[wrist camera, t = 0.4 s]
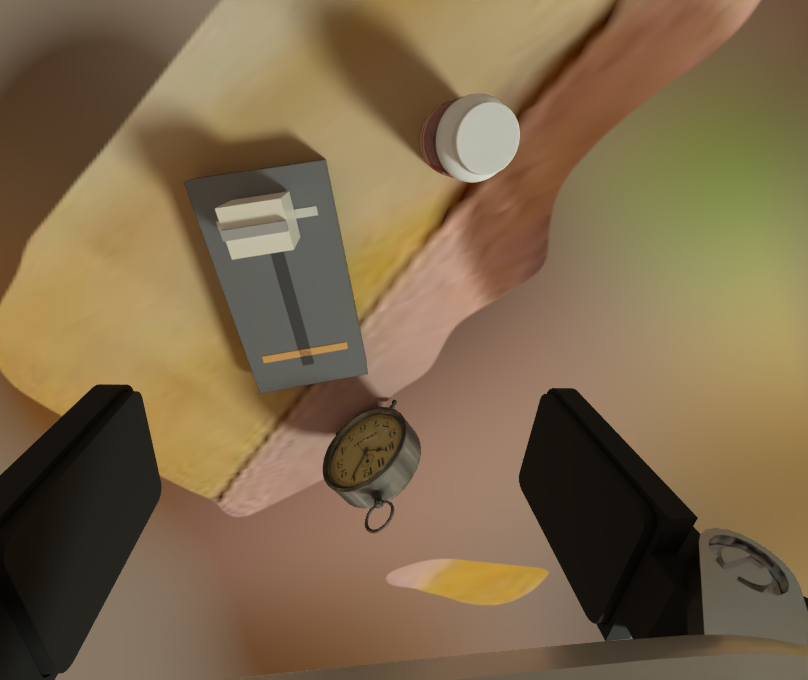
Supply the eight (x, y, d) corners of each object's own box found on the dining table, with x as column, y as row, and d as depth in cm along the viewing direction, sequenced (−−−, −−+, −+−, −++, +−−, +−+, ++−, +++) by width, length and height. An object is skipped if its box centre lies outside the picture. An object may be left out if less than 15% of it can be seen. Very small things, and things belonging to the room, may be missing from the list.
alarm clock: (396, 386, 49) (416, 488, 35) (417, 415, 52) (444, 521, 37) (323, 428, 51) (313, 542, 36) (347, 454, 53) (346, 571, 39)
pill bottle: (428, 184, 39) (455, 198, 29) (411, 115, 36) (434, 105, 27) (489, 163, 39) (535, 171, 29) (476, 92, 36) (523, 74, 27)
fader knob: (231, 199, 35) (212, 209, 30) (289, 191, 35) (279, 199, 30) (246, 245, 37) (229, 261, 32) (300, 236, 37) (292, 251, 32)
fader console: (195, 178, 37) (183, 181, 34) (325, 159, 37) (323, 160, 34) (265, 378, 47) (259, 393, 44) (366, 360, 47) (367, 374, 44)
